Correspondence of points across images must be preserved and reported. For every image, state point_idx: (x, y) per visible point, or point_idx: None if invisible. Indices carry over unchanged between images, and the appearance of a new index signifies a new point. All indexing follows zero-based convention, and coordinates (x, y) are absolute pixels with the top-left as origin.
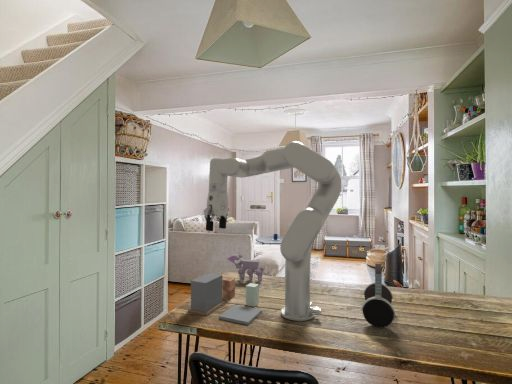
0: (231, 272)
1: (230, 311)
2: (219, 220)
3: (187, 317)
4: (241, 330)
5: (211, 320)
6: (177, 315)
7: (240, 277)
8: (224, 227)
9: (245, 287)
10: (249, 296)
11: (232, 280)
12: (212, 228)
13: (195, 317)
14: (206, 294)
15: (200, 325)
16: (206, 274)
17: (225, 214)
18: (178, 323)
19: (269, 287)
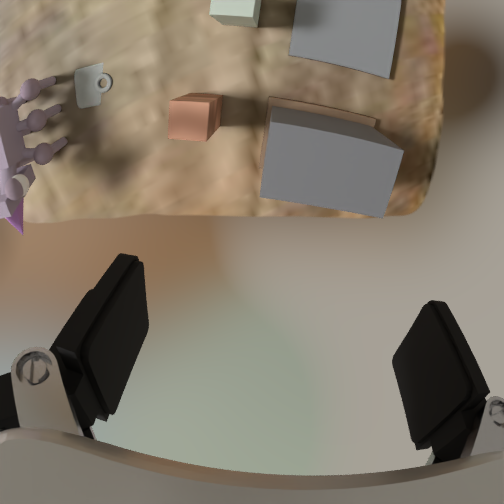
0: None
1: (347, 53)
2: (118, 400)
3: None
4: (430, 10)
5: (399, 96)
6: None
7: (57, 146)
8: (138, 270)
9: (97, 102)
10: (257, 10)
11: (191, 101)
12: (454, 320)
13: None
14: (385, 137)
15: (430, 117)
16: (282, 195)
17: (141, 477)
18: (427, 175)
19: (71, 33)
